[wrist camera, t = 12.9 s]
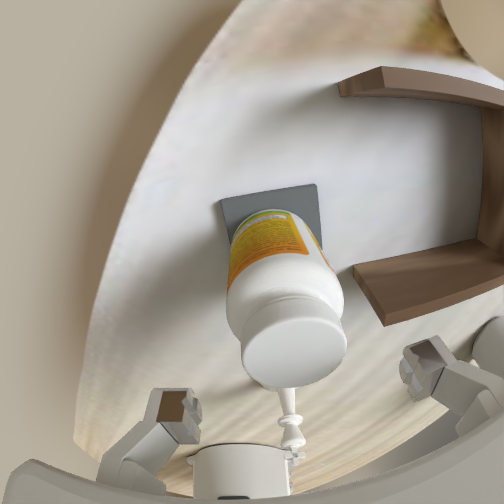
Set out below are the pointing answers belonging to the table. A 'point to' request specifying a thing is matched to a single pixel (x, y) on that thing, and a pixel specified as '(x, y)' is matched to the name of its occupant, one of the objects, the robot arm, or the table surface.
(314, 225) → the felt pad
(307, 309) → the supplement bottle
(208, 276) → the table surface
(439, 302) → the walnut u-shaped frame
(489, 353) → the can
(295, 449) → the chess piece
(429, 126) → the table surface
